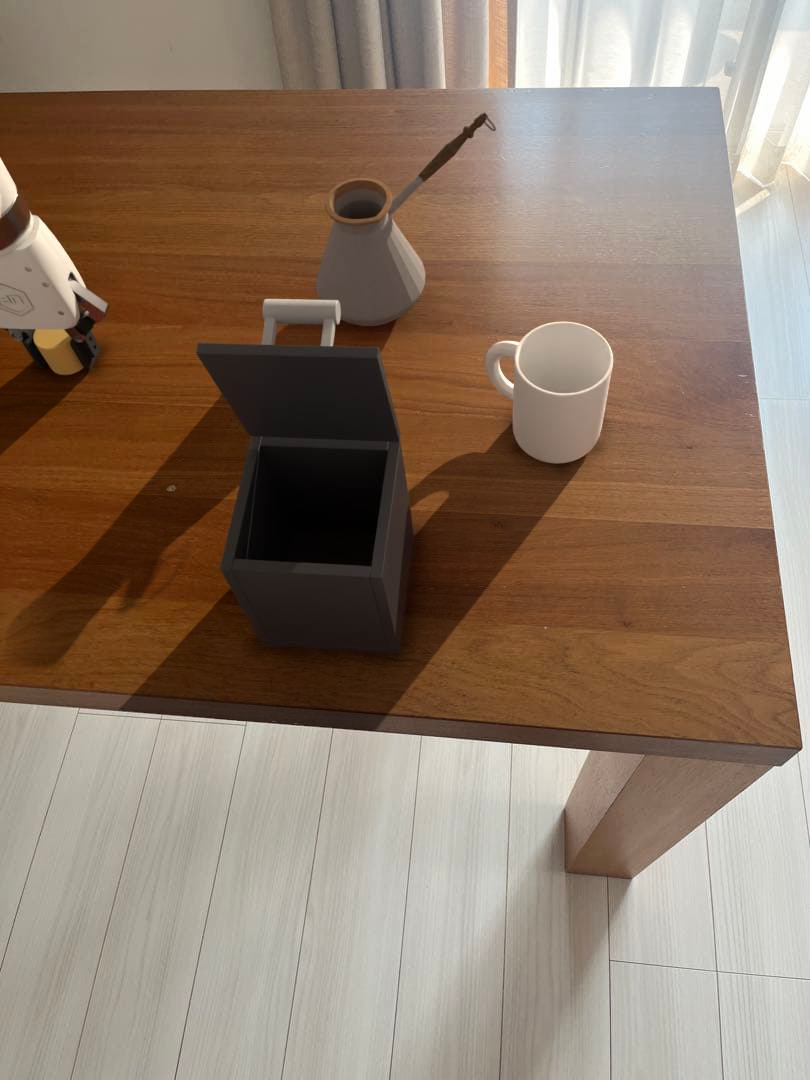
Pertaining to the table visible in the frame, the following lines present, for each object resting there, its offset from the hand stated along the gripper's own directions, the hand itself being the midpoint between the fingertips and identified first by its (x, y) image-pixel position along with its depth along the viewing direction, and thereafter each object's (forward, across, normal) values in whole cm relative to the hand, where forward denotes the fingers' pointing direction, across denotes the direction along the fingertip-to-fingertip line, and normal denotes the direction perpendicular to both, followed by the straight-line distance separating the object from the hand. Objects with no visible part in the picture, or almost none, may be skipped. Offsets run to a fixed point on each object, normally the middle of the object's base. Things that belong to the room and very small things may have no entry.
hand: (68, 356), depth 93 cm
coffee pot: (+1, +35, +13) cm, 37 cm away
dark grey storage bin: (0, +33, -25) cm, 41 cm away
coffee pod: (0, 0, 0) cm, 0 cm away
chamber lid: (-20, +33, -21) cm, 44 cm away
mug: (+1, +49, -6) cm, 50 cm away
